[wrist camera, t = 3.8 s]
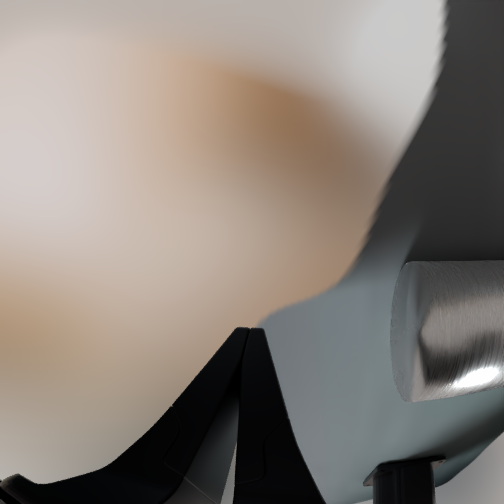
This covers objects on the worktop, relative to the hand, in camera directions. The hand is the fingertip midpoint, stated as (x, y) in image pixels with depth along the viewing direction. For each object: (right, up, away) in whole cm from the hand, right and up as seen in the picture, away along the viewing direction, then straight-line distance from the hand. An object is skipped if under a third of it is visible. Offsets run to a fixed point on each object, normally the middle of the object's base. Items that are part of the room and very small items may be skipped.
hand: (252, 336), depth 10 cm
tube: (+11, +1, -1) cm, 11 cm away
